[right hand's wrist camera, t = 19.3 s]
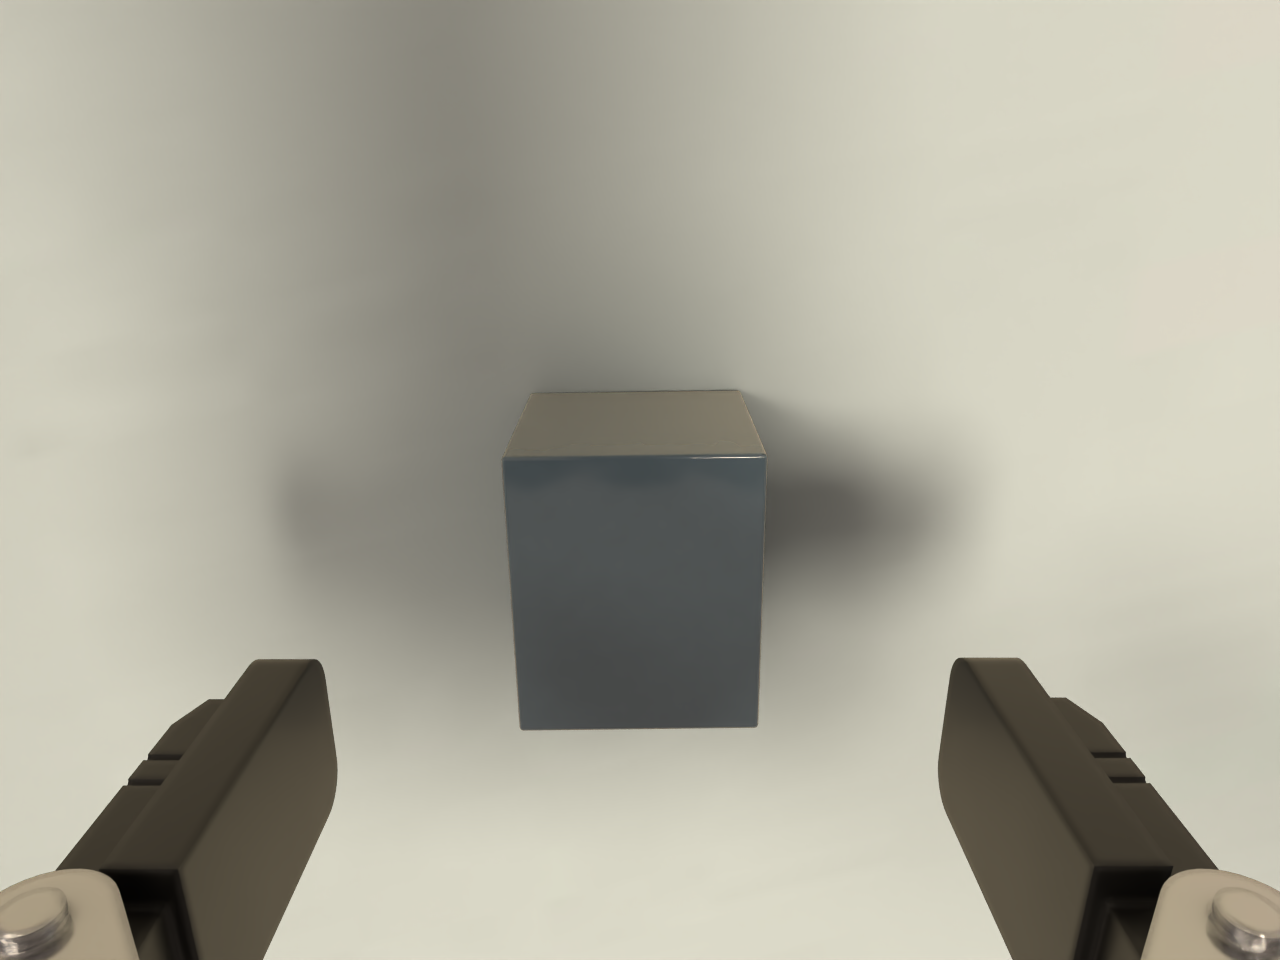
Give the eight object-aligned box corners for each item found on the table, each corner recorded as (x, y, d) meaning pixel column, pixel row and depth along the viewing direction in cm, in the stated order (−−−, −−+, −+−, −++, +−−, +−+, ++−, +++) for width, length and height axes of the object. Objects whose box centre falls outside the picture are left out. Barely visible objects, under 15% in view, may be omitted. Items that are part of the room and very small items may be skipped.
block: (542, 618, 20) (519, 732, 16) (530, 392, 18) (500, 457, 14) (735, 616, 20) (758, 728, 16) (740, 389, 18) (768, 454, 14)
